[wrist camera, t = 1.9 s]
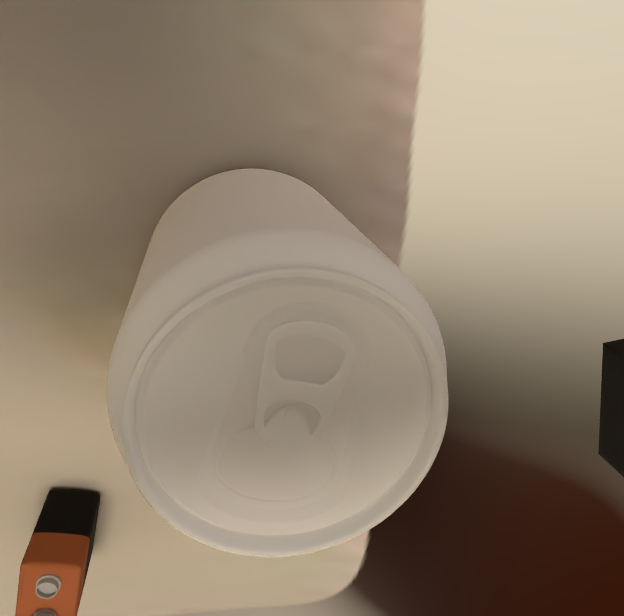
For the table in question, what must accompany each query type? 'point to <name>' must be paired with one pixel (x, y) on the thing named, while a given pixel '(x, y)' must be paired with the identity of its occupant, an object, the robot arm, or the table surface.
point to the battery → (58, 555)
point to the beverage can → (274, 371)
